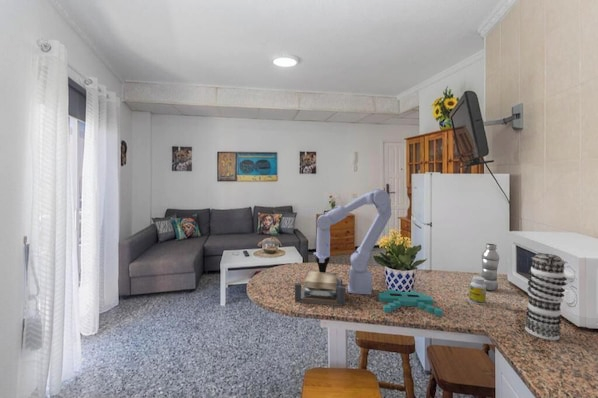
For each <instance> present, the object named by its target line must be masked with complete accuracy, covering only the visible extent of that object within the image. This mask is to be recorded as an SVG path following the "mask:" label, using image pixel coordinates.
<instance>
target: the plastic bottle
mask: <svg viewBox="0 0 598 398" xmlns="http://www.w3.org/2000/svg"><path fill="white" fill-rule="evenodd" d="M497 250H498V249H497V244H496V243H486V245H485V250H484V251H483V252H482V253H481V264H482V265H481V266H482V267H481V270H482V271H481V276H480V277H483V278H484V279H485V282H484V284H485V285H486V291H493V292H494V291H496V290H497V289H498V288H499V283H498V267H499V261H500V255H499V253H498V252H497Z"/></svg>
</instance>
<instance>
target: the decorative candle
mask: <svg viewBox="0 0 598 398" xmlns="http://www.w3.org/2000/svg"><path fill="white" fill-rule="evenodd" d="M530 258H531V259H532V260H531V264H532V265H531V267H530V269H529V270H527V273H528V274H529V275H528V277H527V279H528V281H527V285H528V287H527V290H528V292H527V295H528V296H529V297H528V302H527V307H526V312H525V315H526V316H525V322H524V323H525V327H524V329H525V331H526V332H527V333H529V334H530V335H532V336H534V337H537V338H540V339H544V340H547V341H557V340H559V339H560V338H561V337H560V334H561V329H562V328H561V325H560V324H562V320H561V319H562V314H561V313H562V309H561V306H562V305H561V304H562V303H563V301H564V297H565V295H564V292H566V289H565V288H563V287H564V286H567V283H566V282H565V281H567V280H568V278H567V277H565V271H564V270H565V264H566V261H564V260H563V259H562V257H560V256H559V255H555V254H552V253H545V252H543V253H542V252H540V253H539V252H538V253H536V254H535V255H534V256H531V257H530Z"/></svg>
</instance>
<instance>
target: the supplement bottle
mask: <svg viewBox="0 0 598 398" xmlns="http://www.w3.org/2000/svg"><path fill="white" fill-rule="evenodd" d="M484 282H485V279H484V278H483V277H481V276H480V275H479V276H478V275H475V276H472V281H471V282H470V285H469V297H468V299H469V302H470V303H473V304H476V305H479V304H480V305H482V304H483V305H485V304H486V300H487V299H486V297H487V290H486V285H485V284H484ZM480 305H479V306H480Z"/></svg>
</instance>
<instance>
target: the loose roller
mask: <svg viewBox="0 0 598 398" xmlns="http://www.w3.org/2000/svg"><path fill="white" fill-rule="evenodd" d="M304 297H306V298H319V299H331V300H336V290H333V289H319V288H306V287H305V292H304Z"/></svg>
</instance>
